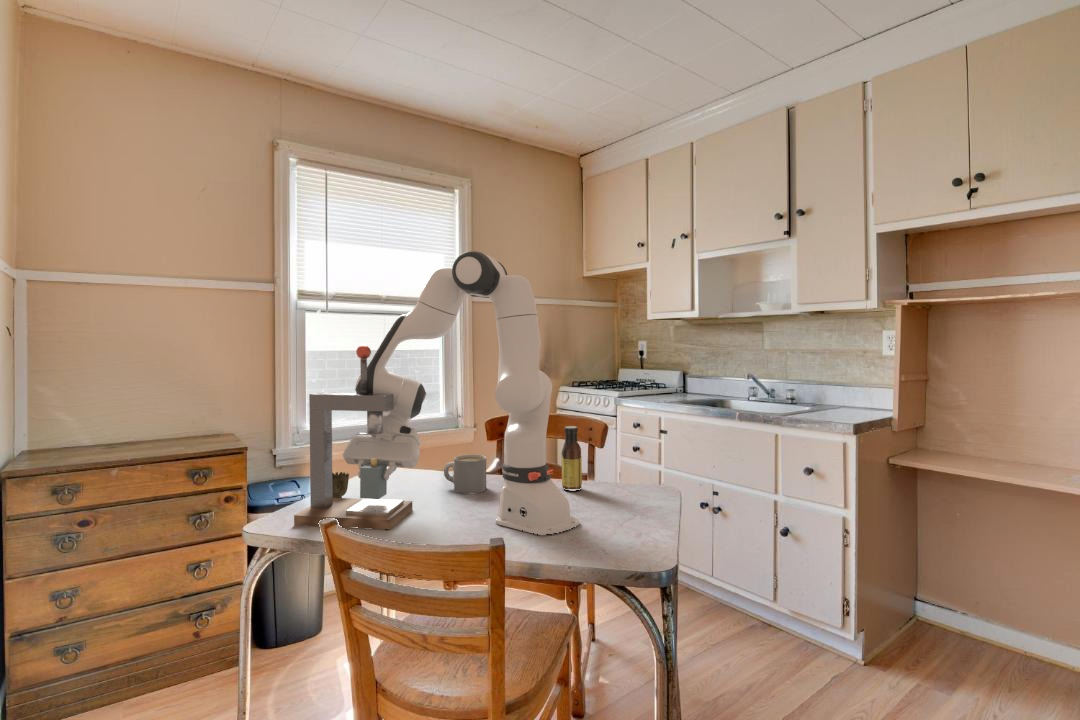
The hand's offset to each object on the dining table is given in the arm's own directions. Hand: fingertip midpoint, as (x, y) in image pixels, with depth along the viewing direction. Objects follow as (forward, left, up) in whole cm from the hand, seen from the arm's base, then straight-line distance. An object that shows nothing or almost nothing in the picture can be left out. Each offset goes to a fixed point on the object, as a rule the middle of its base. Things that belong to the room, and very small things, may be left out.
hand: (372, 478), depth 145 cm
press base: (+4, +3, -11) cm, 12 cm away
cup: (+20, +1, -11) cm, 23 cm away
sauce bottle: (-16, -59, -11) cm, 61 cm away
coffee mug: (+7, -35, -11) cm, 37 cm away
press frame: (+4, +3, -8) cm, 10 cm away
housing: (0, 0, -5) cm, 5 cm away
